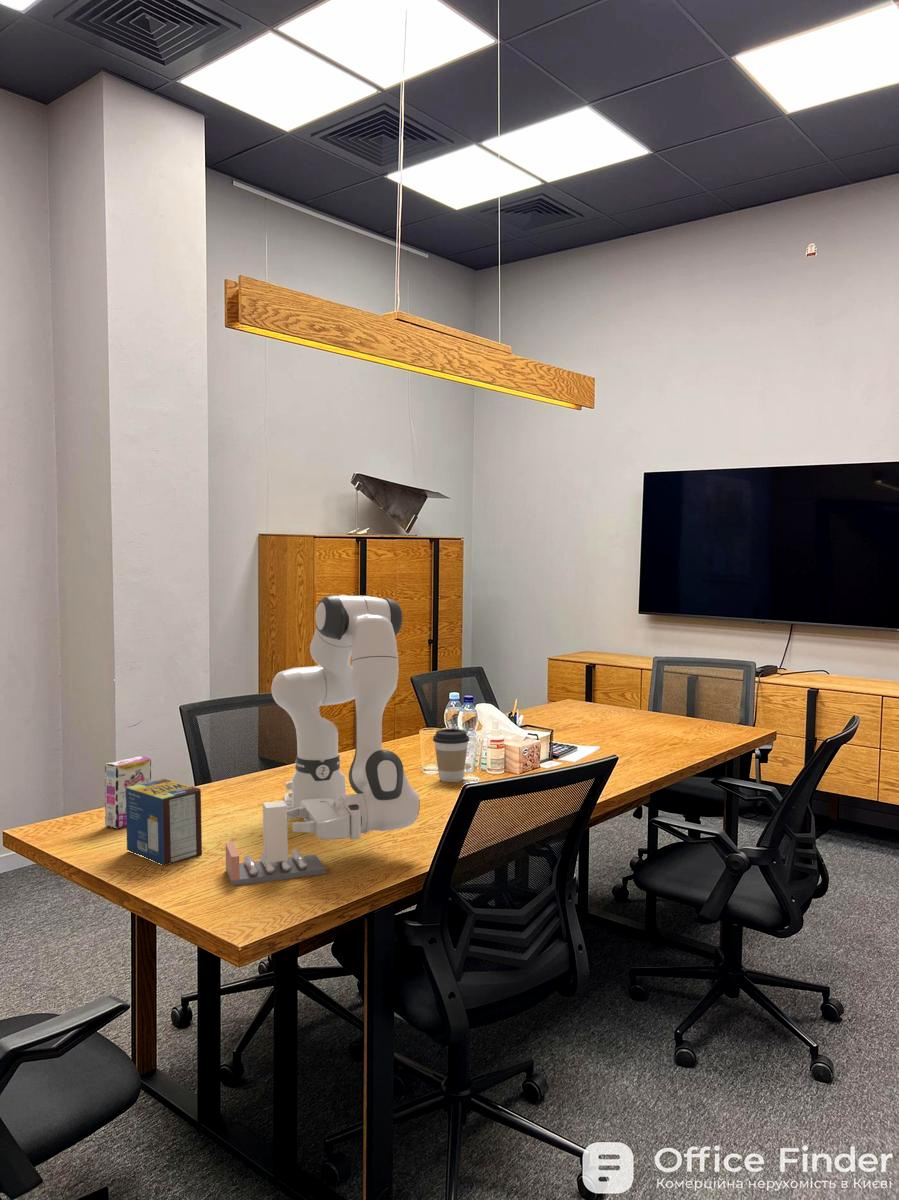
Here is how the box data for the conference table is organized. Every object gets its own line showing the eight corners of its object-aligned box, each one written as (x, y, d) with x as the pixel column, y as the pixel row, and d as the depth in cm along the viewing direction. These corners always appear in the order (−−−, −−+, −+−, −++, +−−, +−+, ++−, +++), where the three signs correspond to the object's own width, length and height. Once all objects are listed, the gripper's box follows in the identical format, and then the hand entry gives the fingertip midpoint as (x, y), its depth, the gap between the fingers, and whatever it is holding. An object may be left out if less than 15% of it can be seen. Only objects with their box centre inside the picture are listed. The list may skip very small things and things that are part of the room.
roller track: (225, 870, 198) (225, 842, 197) (315, 859, 205) (315, 832, 205) (231, 886, 188) (231, 856, 188) (325, 873, 195) (325, 845, 195)
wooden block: (263, 856, 198) (262, 802, 197) (283, 854, 199) (283, 800, 199) (266, 863, 194) (266, 808, 193) (287, 860, 195) (287, 806, 195)
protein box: (164, 841, 218) (163, 778, 217) (202, 854, 208) (202, 788, 208) (125, 852, 210) (124, 786, 209) (163, 866, 200) (162, 798, 200)
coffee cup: (469, 775, 283) (469, 728, 282) (469, 784, 272) (469, 735, 271) (433, 775, 284) (433, 728, 283) (431, 784, 272) (431, 735, 271)
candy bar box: (117, 830, 227) (116, 766, 226) (104, 827, 229) (103, 763, 229) (153, 819, 236) (151, 757, 236) (140, 816, 239) (139, 755, 238)
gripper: (338, 789, 212) (279, 795, 207) (361, 812, 192) (296, 819, 188) (338, 816, 212) (279, 822, 207) (361, 841, 193) (297, 849, 188)
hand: (287, 821), depth 197 cm, fingers open, 8 cm apart
